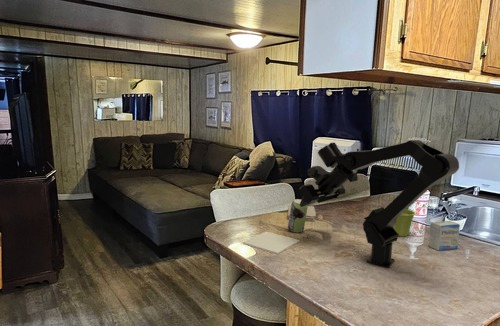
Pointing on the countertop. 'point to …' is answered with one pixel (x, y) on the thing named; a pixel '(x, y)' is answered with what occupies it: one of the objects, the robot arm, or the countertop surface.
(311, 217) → the washcloth
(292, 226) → the beverage can
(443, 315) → the countertop surface
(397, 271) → the countertop surface
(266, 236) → the cream mat
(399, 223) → the plant pot
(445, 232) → the medicine box
